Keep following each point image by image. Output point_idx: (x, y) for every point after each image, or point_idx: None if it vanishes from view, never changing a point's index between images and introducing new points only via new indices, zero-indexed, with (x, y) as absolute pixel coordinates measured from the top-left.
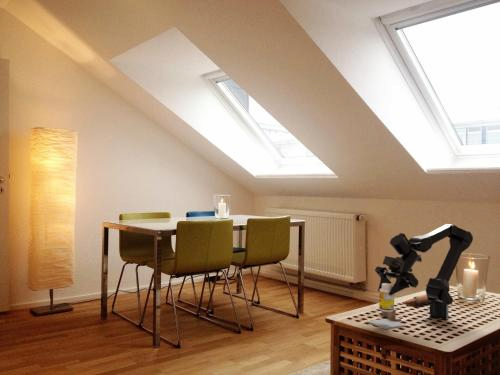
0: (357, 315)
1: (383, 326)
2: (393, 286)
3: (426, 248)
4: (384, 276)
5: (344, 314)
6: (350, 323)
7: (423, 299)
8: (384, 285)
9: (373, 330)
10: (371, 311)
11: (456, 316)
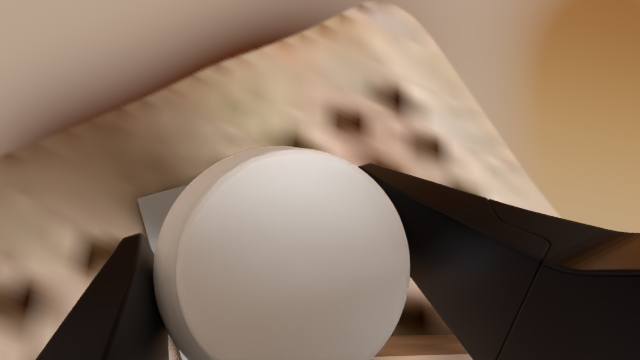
0: (450, 168)
1: (170, 200)
2: (82, 346)
3: None
4: (637, 307)
5: (465, 108)
6: (293, 58)
7: None
8: (236, 170)
9: (132, 117)
10: None
11: None
